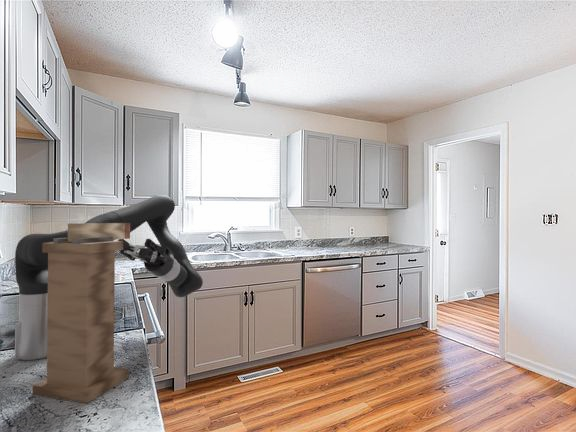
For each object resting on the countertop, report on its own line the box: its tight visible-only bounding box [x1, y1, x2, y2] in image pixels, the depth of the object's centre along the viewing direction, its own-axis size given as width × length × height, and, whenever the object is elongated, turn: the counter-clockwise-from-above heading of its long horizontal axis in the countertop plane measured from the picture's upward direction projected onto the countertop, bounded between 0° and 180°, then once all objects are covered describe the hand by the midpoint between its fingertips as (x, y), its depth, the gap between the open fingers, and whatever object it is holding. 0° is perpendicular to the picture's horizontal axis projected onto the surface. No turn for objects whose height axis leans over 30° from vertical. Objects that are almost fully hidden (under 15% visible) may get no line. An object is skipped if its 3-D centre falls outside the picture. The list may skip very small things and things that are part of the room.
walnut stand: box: [32, 237, 130, 404], centre depth 76 cm, size 12×14×33 cm
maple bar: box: [67, 222, 131, 242], centre depth 82 cm, size 16×3×4 cm, turn 166°
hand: (132, 241), depth 92 cm, fingers open, 8 cm apart
